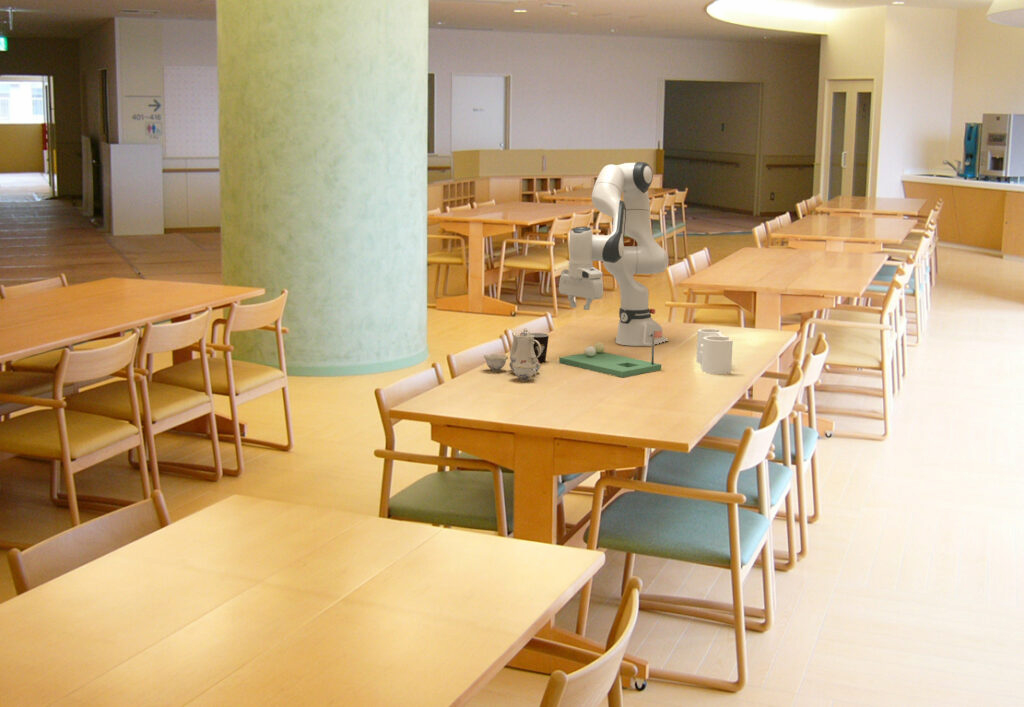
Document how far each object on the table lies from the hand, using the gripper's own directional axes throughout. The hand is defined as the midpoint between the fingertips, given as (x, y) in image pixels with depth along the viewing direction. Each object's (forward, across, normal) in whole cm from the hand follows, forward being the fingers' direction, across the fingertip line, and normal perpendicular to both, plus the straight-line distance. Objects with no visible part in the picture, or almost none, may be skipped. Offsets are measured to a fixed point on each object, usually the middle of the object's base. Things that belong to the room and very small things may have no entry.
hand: (579, 308), depth 411 cm
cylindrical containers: (+20, +40, +28) cm, 53 cm away
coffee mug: (+19, -8, -16) cm, 26 cm away
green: (+19, +16, 0) cm, 25 cm away
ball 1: (+15, +6, 0) cm, 16 cm away
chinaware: (+20, +5, -34) cm, 40 cm away
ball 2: (+15, +3, +8) cm, 17 cm away
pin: (+17, +30, +9) cm, 36 cm away
